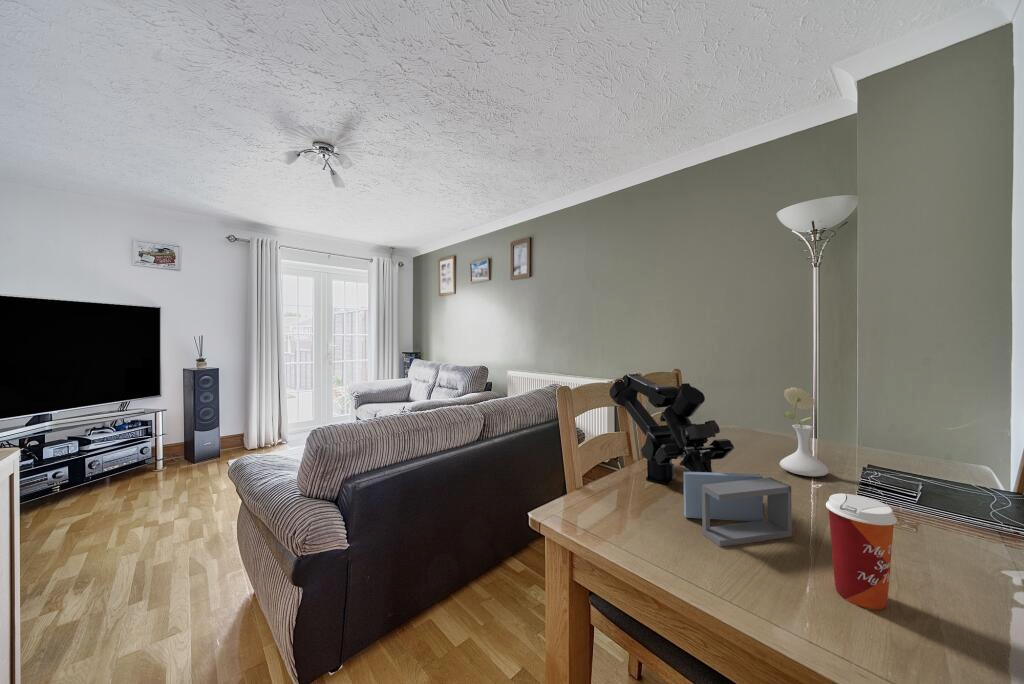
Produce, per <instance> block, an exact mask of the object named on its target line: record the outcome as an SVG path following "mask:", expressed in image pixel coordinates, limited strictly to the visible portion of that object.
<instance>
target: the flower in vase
mask: <svg viewBox="0 0 1024 684" xmlns="http://www.w3.org/2000/svg"><path fill="white" fill-rule="evenodd" d="M783 393H784V395H783V397H785V398H786V400H787V401H788V403H789V404H791V405H792V406H793V413H791V412H790V411H786V412H784V414H783V415H782V416H783V417H786V418H788V419H789V420H794V419H795V420H796V422H797V424H792V426H791V427H792V428H793V429H794V430H795V432H796V436H797V441H798V445H797V449H796V451H795V452H793V453H791V454H790V455H787V456H785V457H784V458H782V459H781V460H780V462H779V466H780V467H781V468H782V469H784V470H785V471H787V472H790V473H792V474H794V475H795V474H796V475H800V476H805V477H814V478H815V477H823V476H826V475H828V473H829V472H830V471H829V468H828V467H827V466H826V465H825V464H824V463H823V462H822V461H821V460H819V459H818V458H816V457H815V456H813V455H812V453H811V452H810V451H809V437H810V434H811V432H812V431H813V430H814V429H815V428H814V426H811V425H806V424H801V423H802V422H806V421H808V420H810V419H811V418H812V416H810V417H805V418H803V419H800V420H799V419H798V418H797V416H796V407H797V408H798V409H800V410H801V409H802V410H810V409H814V405H815V400H814V398H813V397H812V395H811V394H809V392H807V391H804V390H803V389H802V388H797V387H795V386H794V387H790V388H786V389H785V390H784V392H783Z"/></svg>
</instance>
